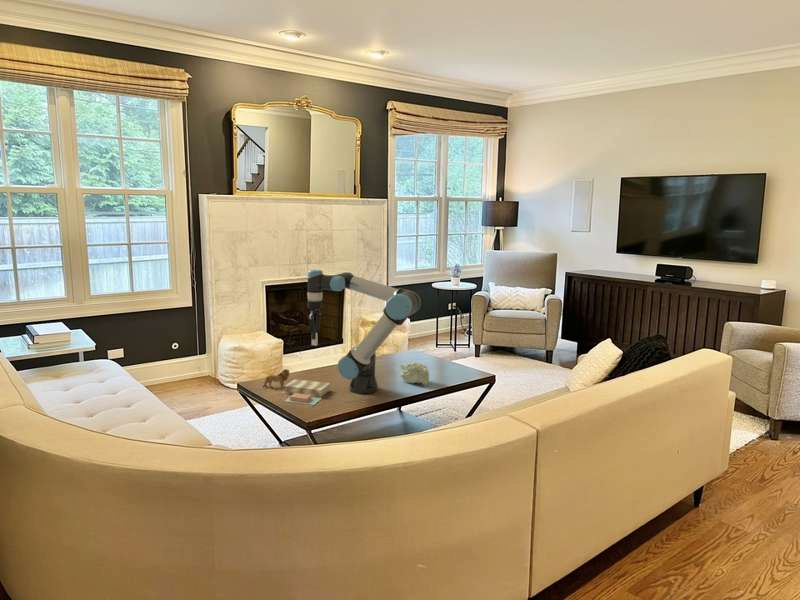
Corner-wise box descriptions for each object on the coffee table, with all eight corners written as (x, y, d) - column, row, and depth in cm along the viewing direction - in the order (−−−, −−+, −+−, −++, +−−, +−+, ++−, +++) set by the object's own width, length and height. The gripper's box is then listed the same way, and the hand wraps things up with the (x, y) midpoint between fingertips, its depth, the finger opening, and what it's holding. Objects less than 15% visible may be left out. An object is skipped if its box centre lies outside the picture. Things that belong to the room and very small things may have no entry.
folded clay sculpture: (405, 393, 325) (394, 368, 326) (423, 384, 331) (412, 359, 332) (420, 389, 309) (408, 363, 310) (439, 380, 316) (427, 354, 317)
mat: (322, 398, 293) (322, 397, 292) (314, 405, 282) (314, 404, 282) (293, 394, 296) (293, 394, 296) (283, 401, 286) (283, 401, 286)
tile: (306, 398, 284) (306, 402, 285) (311, 394, 290) (311, 398, 290) (289, 396, 287) (289, 400, 287) (294, 392, 292) (294, 396, 293)
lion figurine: (287, 383, 314) (287, 367, 313) (291, 386, 310) (291, 370, 308) (261, 387, 307) (260, 370, 306) (263, 389, 303) (263, 373, 301)
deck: (329, 390, 305) (330, 383, 304) (321, 397, 293) (321, 390, 293) (294, 386, 310) (294, 379, 309) (284, 393, 298) (284, 385, 297)
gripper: (313, 297, 304) (312, 341, 308) (302, 301, 291) (302, 347, 295) (326, 298, 302) (326, 342, 306) (316, 302, 290) (316, 348, 294)
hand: (314, 344), depth 301 cm, fingers closed
